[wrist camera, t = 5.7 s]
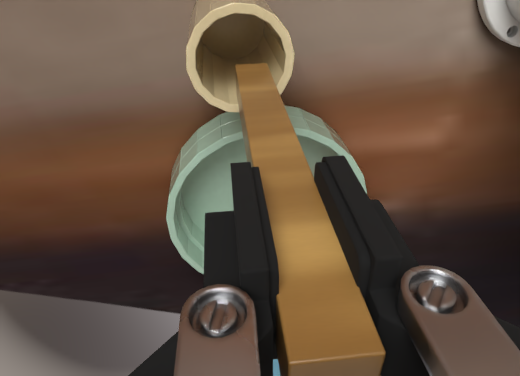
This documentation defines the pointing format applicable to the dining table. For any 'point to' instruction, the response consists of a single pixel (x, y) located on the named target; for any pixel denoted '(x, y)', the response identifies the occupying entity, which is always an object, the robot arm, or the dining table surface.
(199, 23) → the crock
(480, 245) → the dining table surface
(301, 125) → the bowl
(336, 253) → the stick
